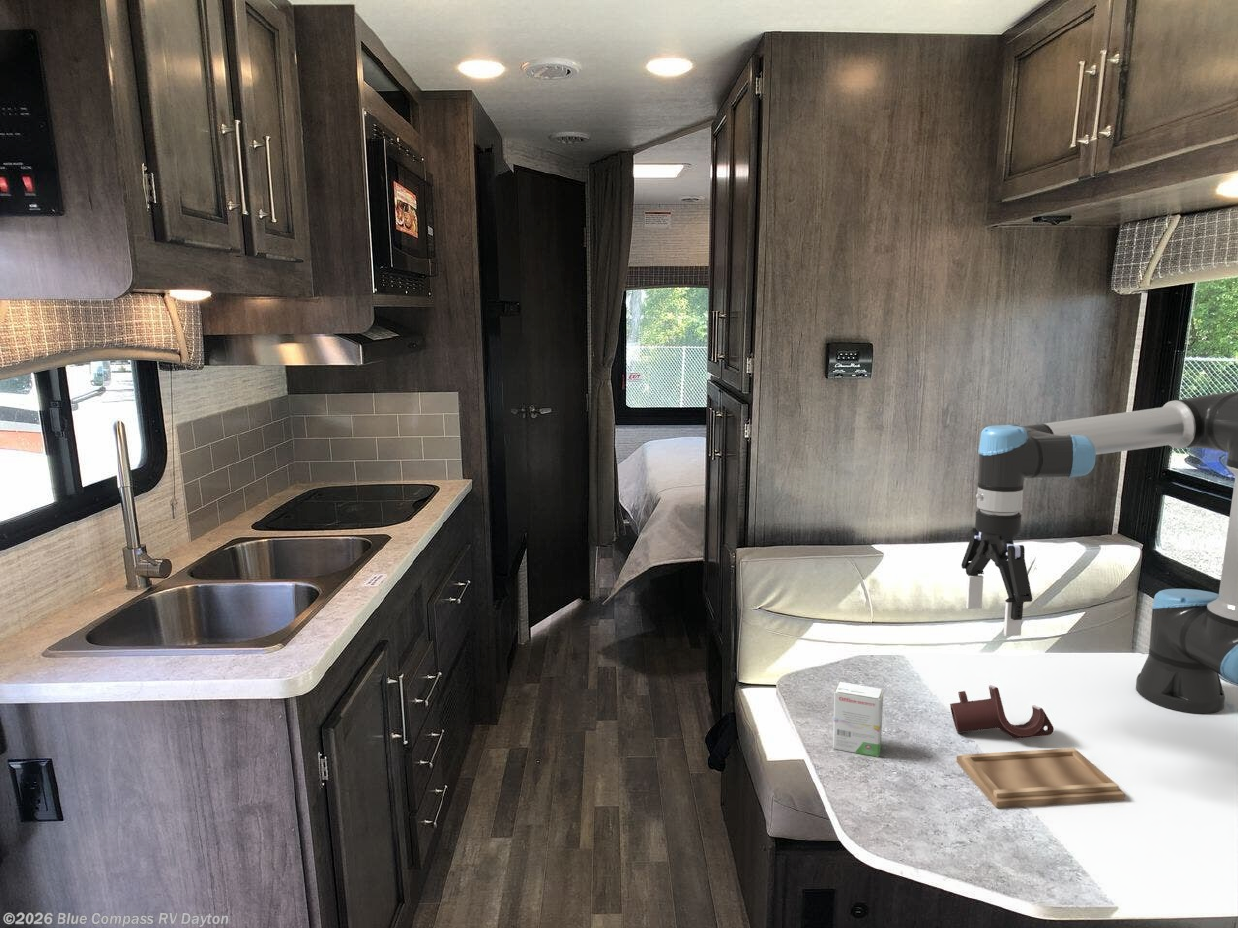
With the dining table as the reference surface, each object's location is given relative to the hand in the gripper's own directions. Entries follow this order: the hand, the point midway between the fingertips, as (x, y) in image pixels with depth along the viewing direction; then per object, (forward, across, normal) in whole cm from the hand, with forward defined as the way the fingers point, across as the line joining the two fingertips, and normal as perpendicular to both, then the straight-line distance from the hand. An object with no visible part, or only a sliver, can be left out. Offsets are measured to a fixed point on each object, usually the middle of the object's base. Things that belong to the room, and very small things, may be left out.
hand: (992, 621), depth 145 cm
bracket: (+25, -2, +4) cm, 25 cm away
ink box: (+25, -1, -25) cm, 35 cm away
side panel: (+24, +14, +2) cm, 28 cm away
